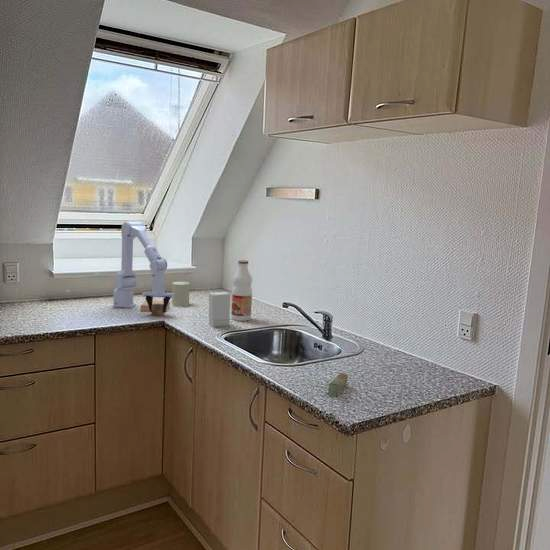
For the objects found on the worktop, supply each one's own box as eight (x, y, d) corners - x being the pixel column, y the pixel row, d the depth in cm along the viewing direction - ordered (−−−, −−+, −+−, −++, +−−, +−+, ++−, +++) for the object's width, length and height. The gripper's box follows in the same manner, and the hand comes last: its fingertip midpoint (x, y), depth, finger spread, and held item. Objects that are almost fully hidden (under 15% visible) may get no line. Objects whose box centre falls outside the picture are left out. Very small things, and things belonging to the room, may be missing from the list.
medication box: (336, 398, 155) (337, 385, 154) (327, 396, 156) (328, 383, 155) (347, 385, 166) (348, 373, 165) (338, 383, 167) (339, 371, 166)
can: (187, 306, 271) (188, 284, 269) (170, 305, 271) (170, 283, 269) (190, 303, 280) (191, 281, 278) (173, 302, 280) (174, 280, 278)
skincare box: (225, 323, 239) (226, 291, 237) (230, 326, 234) (231, 293, 232) (207, 324, 236) (208, 292, 234) (212, 327, 230) (213, 294, 228)
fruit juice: (252, 321, 245) (254, 262, 241) (232, 321, 243) (234, 261, 239) (249, 316, 254) (251, 259, 250) (230, 316, 253) (232, 259, 248)
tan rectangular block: (140, 311, 256) (140, 305, 255) (146, 306, 268) (146, 300, 267) (164, 312, 256) (164, 306, 255) (169, 307, 268) (169, 301, 267)
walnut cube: (151, 316, 247) (151, 305, 247) (153, 313, 252) (154, 303, 252) (161, 316, 247) (162, 306, 247) (164, 314, 252) (164, 304, 252)
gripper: (140, 284, 244) (140, 313, 246) (171, 286, 244) (171, 314, 246) (144, 282, 251) (144, 309, 253) (174, 283, 251) (174, 311, 253)
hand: (157, 311), depth 250 cm, fingers open, 6 cm apart
